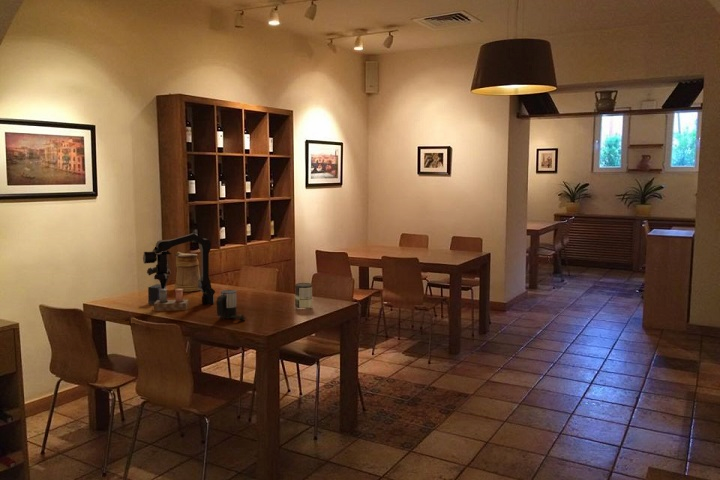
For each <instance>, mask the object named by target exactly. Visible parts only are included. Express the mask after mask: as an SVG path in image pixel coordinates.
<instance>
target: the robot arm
mask: <svg viewBox="0 0 720 480" xmlns="http://www.w3.org/2000/svg"><path fill="white" fill-rule="evenodd" d="M189 242H195V243H196V244H198V248H199V251H200V269H201V270H200V280H198V286H199V289H200V290H199V291H201V293H202V296H201V303H202V305H214V304H215V293H216V290H214V288H213V287H212V283H211V280H210V277H209V276H210V275H209V274H210V271H209V270H210V266H209V265H210V264H209V263H210V262H209V261H210V260H209V258H210V256H209V255H210V251H211V249H212V242H211V241H210V240H209V239H208V238H205V237H204V238H203V237H200V236H199V235H197V234H196V233H193V232H192V233H190V234H186V235H182V236H179V237H176V238H172V239H163V240H158V241H157V242H156V243H155V247H154V248H153V250H152V251H143V255H142V262H143V265H144V264H145V265H146V264H155V263H157V264H156V265H155V266H154V267H149V268H148V269H147V270H146V274H147V275H148V276H151V275H154V274H155V275H154V276H153V277H154V280H159V284H161V287H162V289H164V288H165V285H166V286H167V283H168V279H169V277H170V275H171V274H172V273H171V270H170V268H168V267H169V263H168V262H169V260H168V256H169V255H172V252H170V251H169V250H170V249H171V248H173V247H175V246H176V247H177V246H178V245H182V244H186V243H189Z"/></svg>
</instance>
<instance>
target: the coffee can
mask: <svg viewBox="0 0 720 480" xmlns="http://www.w3.org/2000/svg"><path fill="white" fill-rule="evenodd" d="M294 288H295V289H294V291H295V295H294V299H295V300H294V302H295V303H294V305H295V306H294V308H295V307H296V308H311V307H312V308H313V283H309V282H298V283H295V284H294ZM296 308H295V309H296ZM312 308H311V309H312Z"/></svg>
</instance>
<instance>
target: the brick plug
mask: <svg viewBox="0 0 720 480" xmlns="http://www.w3.org/2000/svg"><path fill="white" fill-rule="evenodd" d="M174 292H175V300H176V303H181V302H183V300H184V297H183V296H184V295H183V294H184V292H183V289H175V288H174Z"/></svg>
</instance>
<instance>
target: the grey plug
mask: <svg viewBox="0 0 720 480" xmlns="http://www.w3.org/2000/svg"><path fill="white" fill-rule="evenodd" d="M159 292H160V303H167V300H168V294H167V292H168V289H167V288H166V289H160V290H159Z"/></svg>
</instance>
